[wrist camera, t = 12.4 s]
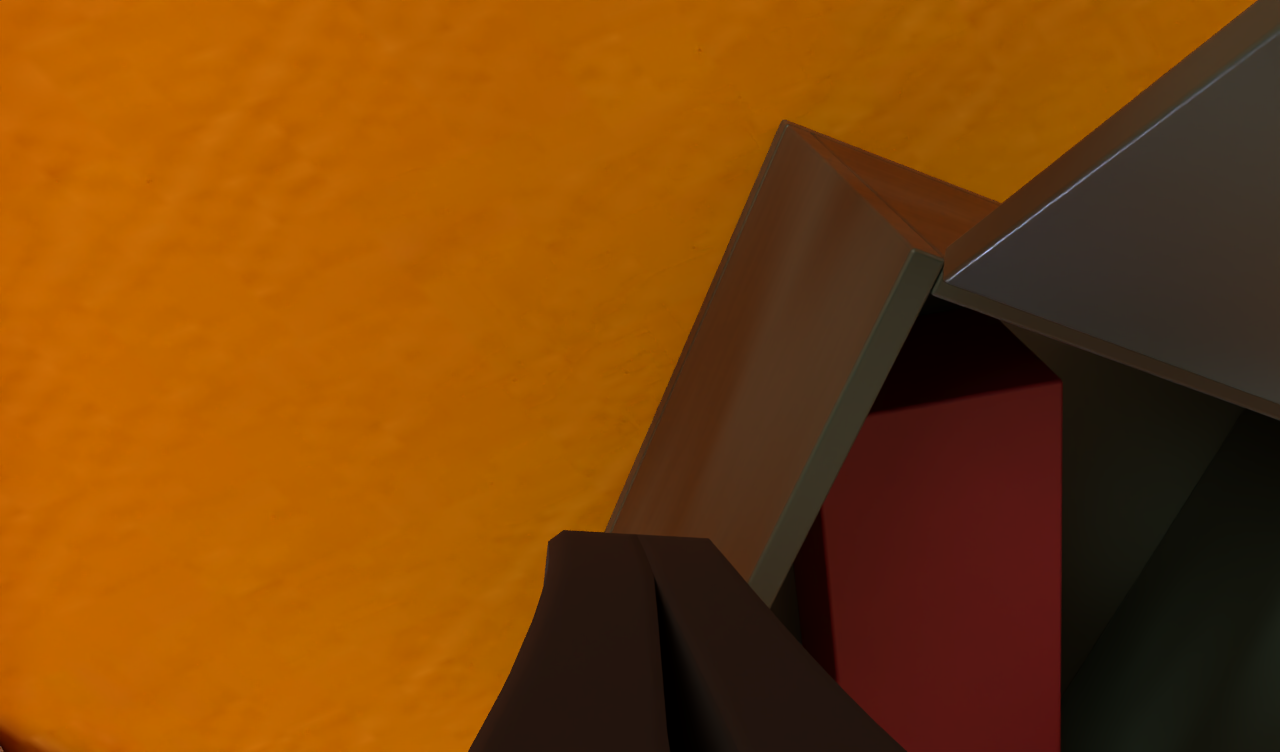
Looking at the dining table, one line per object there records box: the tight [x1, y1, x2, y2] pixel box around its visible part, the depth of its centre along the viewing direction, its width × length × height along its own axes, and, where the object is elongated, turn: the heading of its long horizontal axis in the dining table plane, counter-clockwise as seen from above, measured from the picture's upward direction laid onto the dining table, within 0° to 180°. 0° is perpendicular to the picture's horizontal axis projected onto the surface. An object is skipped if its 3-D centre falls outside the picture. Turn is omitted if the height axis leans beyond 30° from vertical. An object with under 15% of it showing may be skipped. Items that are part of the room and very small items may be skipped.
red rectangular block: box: [793, 308, 1063, 752], centre depth 19 cm, size 8×4×3 cm, turn 8°
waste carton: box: [604, 120, 1280, 752], centre depth 18 cm, size 12×10×6 cm
